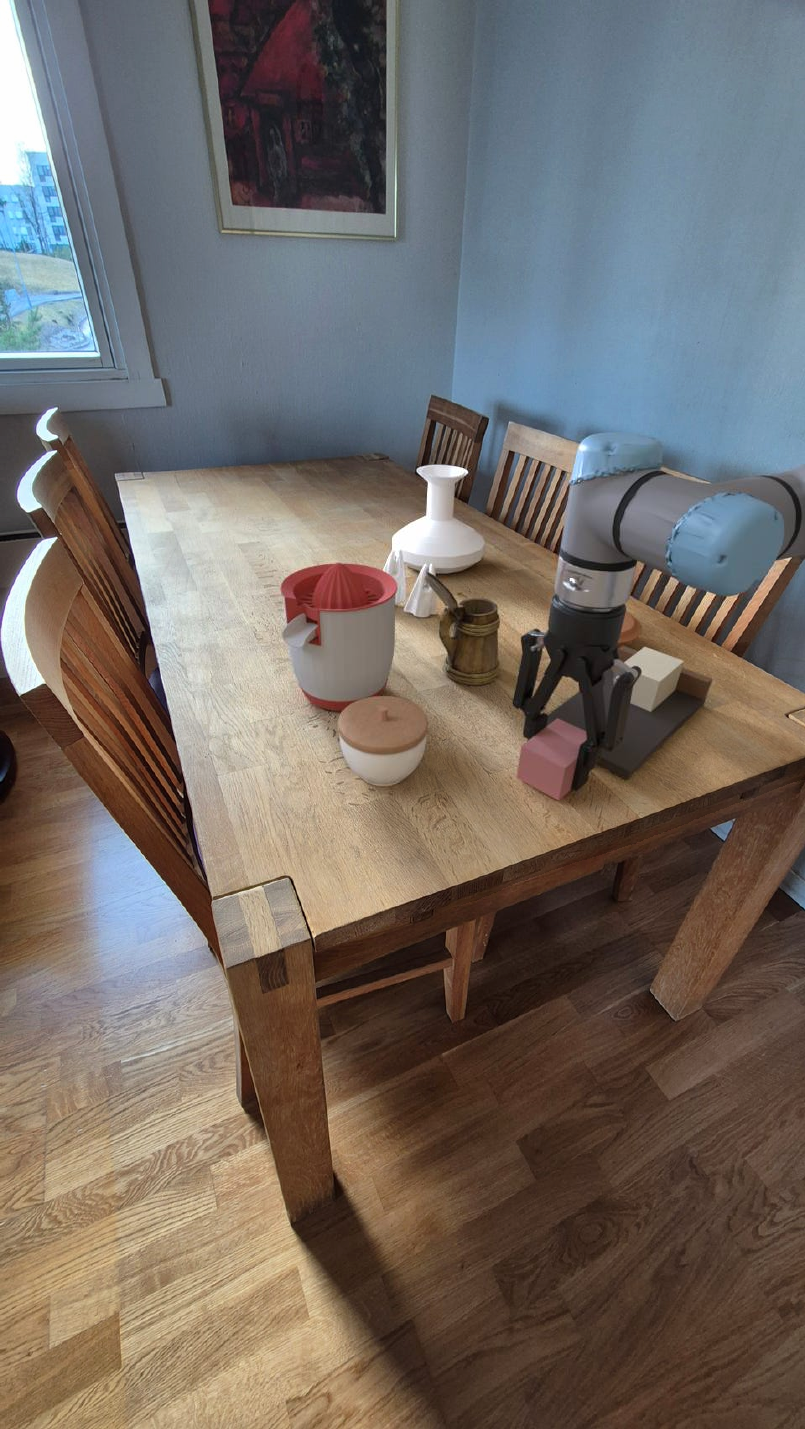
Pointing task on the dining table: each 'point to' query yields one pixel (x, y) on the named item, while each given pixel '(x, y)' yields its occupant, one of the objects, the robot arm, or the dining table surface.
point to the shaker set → (421, 594)
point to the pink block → (551, 758)
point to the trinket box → (382, 738)
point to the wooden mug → (468, 636)
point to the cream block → (654, 677)
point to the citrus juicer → (340, 631)
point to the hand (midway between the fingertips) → (555, 771)
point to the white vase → (439, 528)
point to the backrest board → (641, 719)
